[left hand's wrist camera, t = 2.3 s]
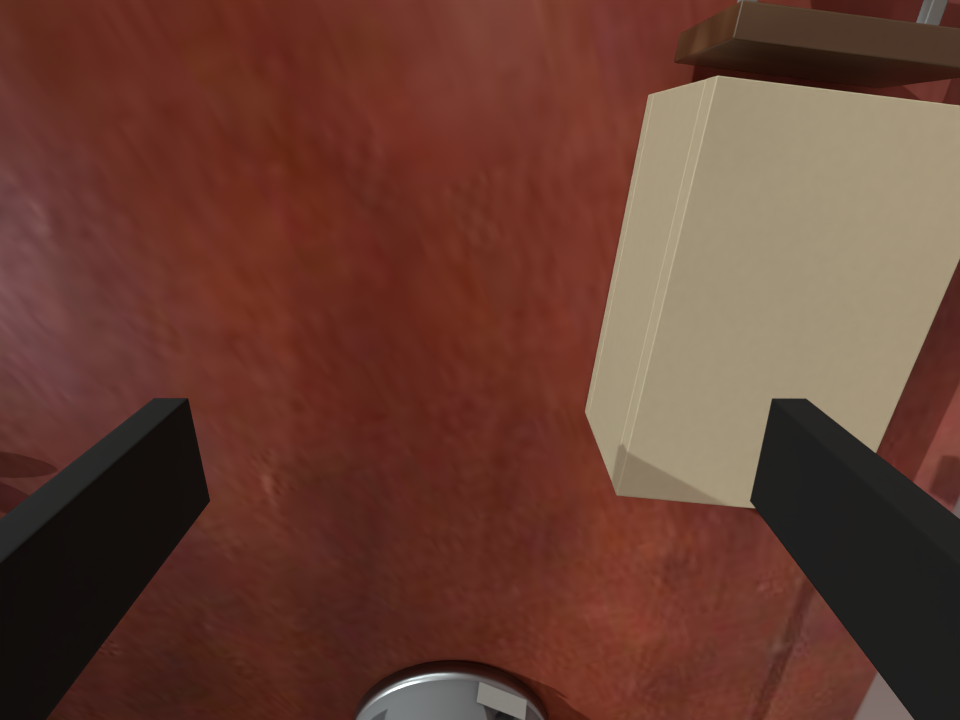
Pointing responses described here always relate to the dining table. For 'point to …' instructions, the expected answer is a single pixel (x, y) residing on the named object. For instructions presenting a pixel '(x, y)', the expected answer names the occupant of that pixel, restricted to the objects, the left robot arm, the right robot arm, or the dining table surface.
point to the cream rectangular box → (768, 275)
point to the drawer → (825, 45)
